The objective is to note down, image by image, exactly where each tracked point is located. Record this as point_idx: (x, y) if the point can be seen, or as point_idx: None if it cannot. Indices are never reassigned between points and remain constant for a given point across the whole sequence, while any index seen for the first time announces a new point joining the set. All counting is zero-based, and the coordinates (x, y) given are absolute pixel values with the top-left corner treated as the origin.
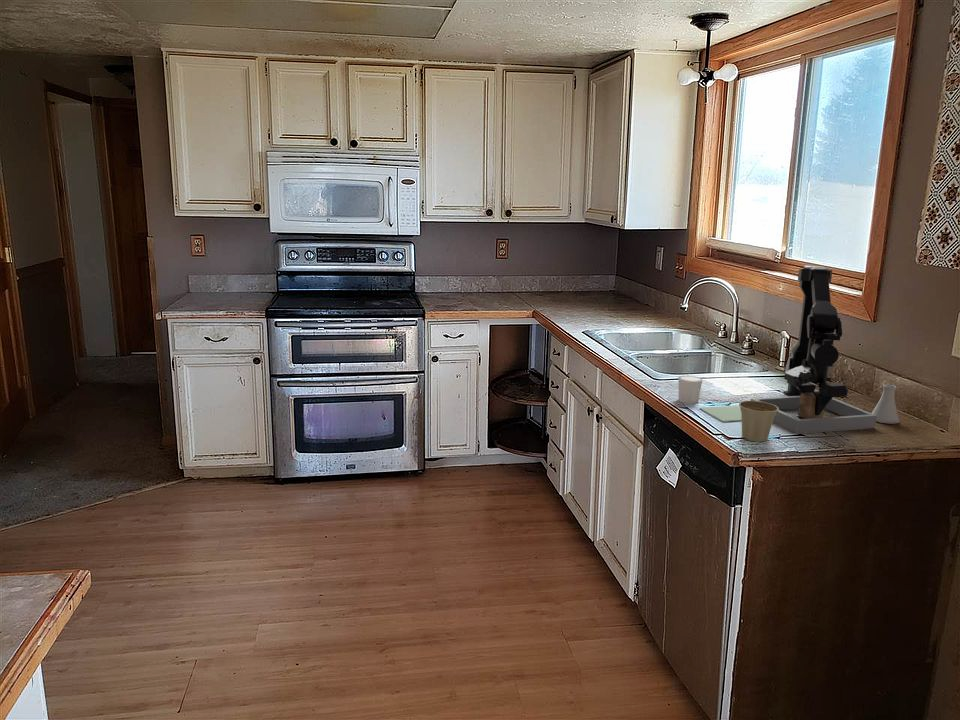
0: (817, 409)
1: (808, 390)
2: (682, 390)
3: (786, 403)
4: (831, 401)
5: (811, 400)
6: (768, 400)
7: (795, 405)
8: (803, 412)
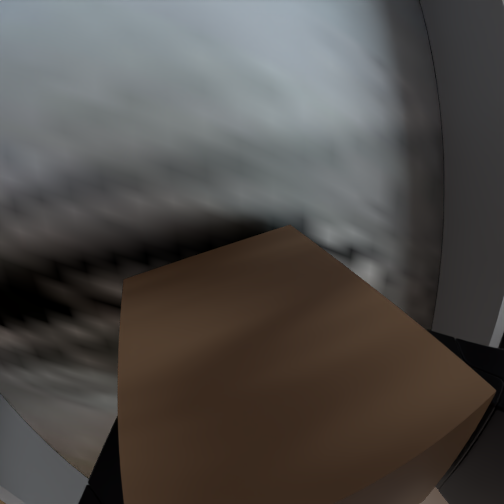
0: (114, 431)
1: (476, 472)
2: None
3: (479, 211)
4: None
5: (123, 497)
6: (498, 34)
7: (457, 277)
8: (234, 273)
